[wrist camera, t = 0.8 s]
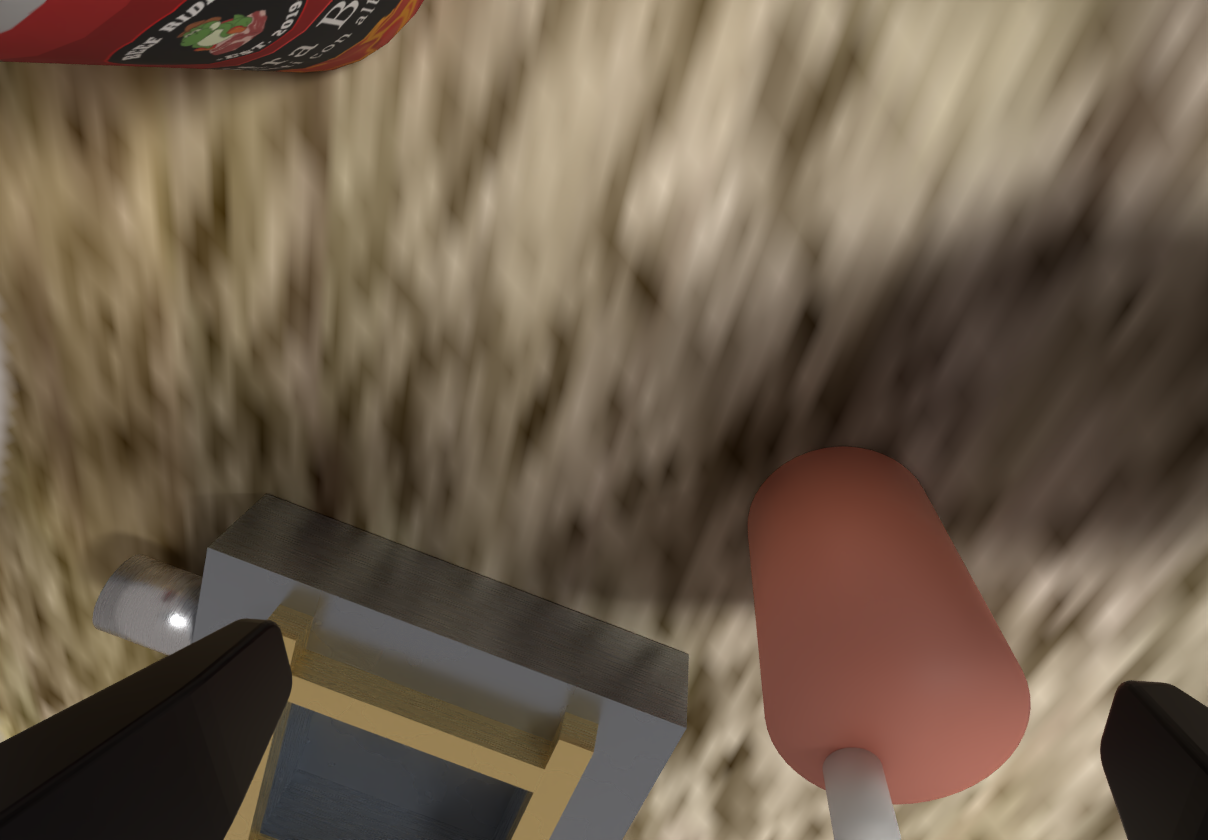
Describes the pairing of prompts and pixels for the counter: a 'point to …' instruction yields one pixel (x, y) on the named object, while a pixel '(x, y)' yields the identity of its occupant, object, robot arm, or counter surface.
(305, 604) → the grey and gold frame
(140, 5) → the canned food
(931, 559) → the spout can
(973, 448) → the counter surface
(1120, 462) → the counter surface
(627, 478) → the counter surface
